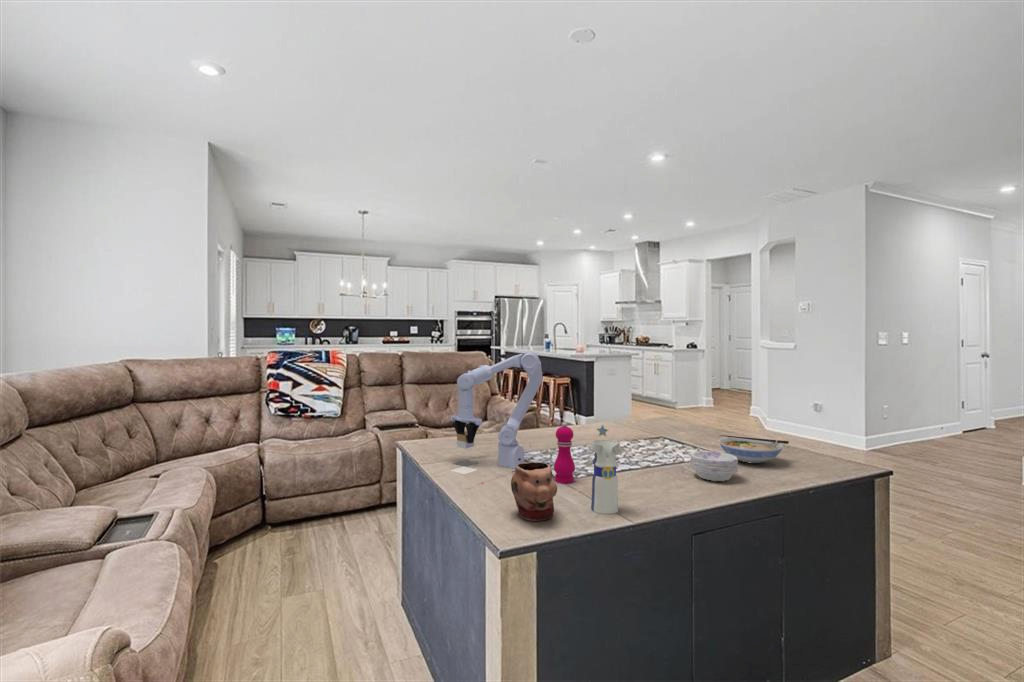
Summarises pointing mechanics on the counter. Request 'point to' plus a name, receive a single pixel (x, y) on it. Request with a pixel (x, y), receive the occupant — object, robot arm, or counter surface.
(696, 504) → the counter surface
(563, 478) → the pepper mill
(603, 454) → the white figurine with star
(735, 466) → the paper bowls
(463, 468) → the stand
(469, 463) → the stand
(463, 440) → the block
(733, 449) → the ramen bowl
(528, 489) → the decorative planter
